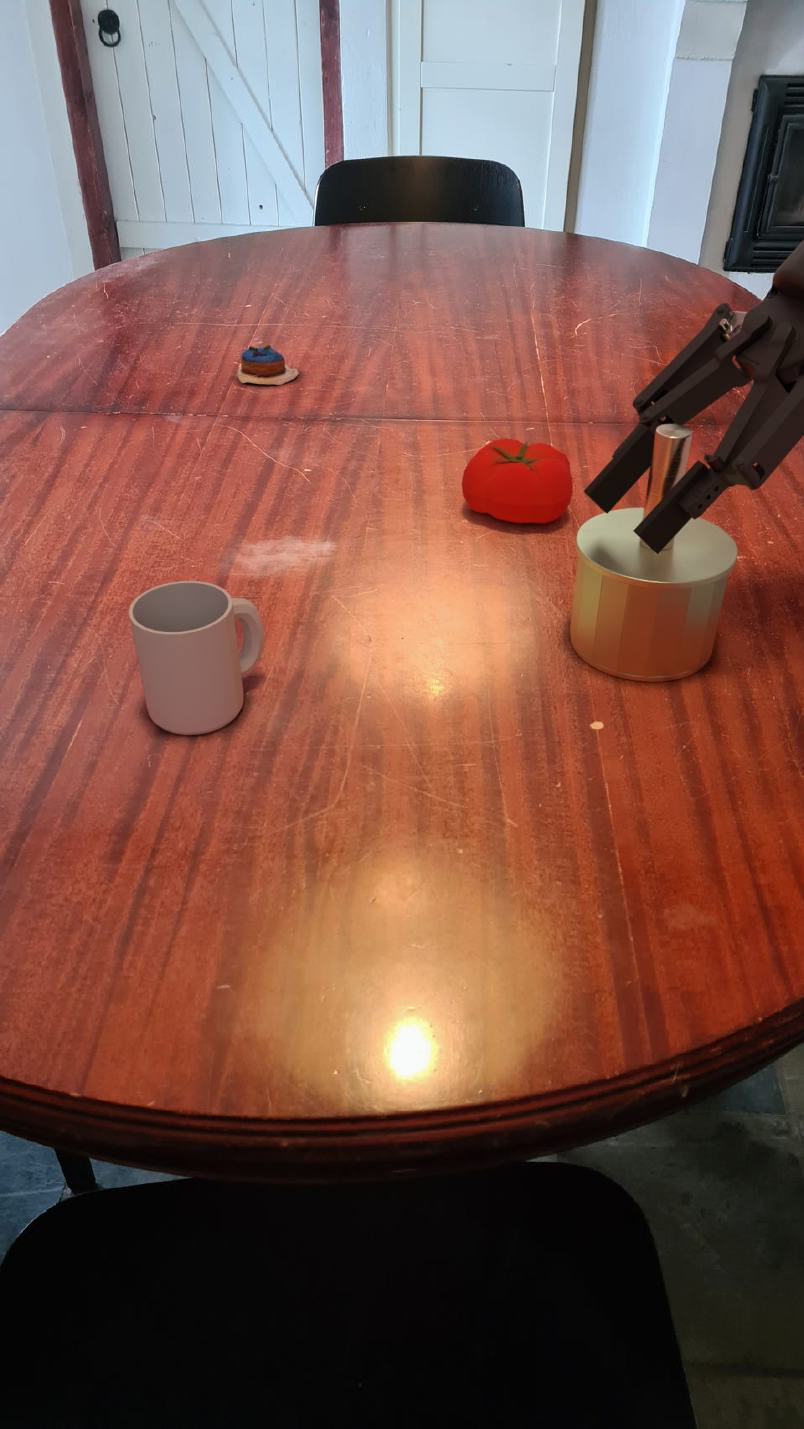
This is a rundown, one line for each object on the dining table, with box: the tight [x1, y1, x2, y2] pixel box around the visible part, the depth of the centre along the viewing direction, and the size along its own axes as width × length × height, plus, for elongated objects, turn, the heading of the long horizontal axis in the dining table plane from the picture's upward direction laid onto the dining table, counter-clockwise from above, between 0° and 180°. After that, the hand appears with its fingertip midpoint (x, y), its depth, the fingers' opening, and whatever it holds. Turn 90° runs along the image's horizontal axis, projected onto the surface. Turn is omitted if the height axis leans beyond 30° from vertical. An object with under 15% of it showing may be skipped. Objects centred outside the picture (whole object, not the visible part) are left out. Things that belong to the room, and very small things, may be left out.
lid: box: [575, 424, 739, 589], centre depth 77 cm, size 12×12×10 cm
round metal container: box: [569, 553, 729, 683], centre depth 82 cm, size 11×11×8 cm
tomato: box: [461, 437, 574, 525], centre depth 102 cm, size 10×11×6 cm
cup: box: [128, 580, 265, 736], centre depth 76 cm, size 7×10×9 cm
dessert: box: [237, 344, 299, 386], centre depth 135 cm, size 8×7×6 cm
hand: (619, 521), depth 77 cm, fingers open, 6 cm apart
